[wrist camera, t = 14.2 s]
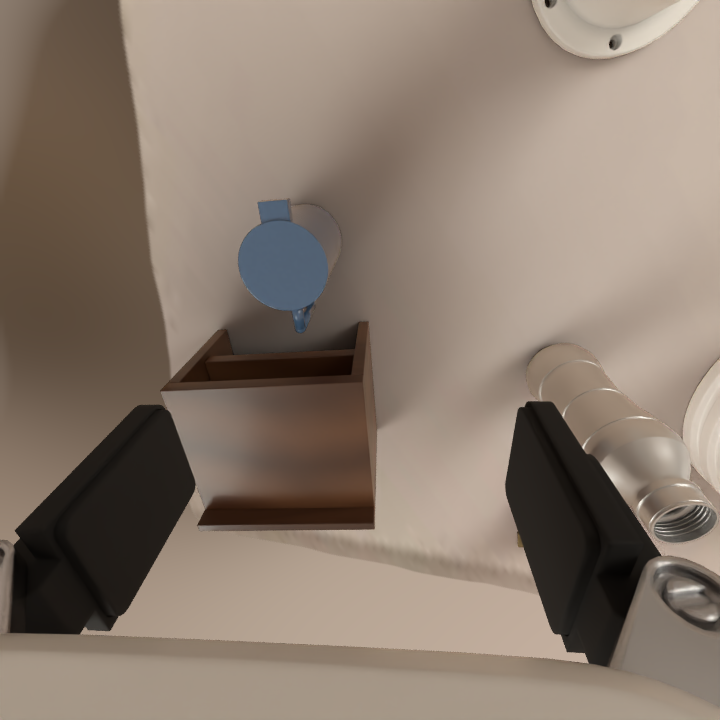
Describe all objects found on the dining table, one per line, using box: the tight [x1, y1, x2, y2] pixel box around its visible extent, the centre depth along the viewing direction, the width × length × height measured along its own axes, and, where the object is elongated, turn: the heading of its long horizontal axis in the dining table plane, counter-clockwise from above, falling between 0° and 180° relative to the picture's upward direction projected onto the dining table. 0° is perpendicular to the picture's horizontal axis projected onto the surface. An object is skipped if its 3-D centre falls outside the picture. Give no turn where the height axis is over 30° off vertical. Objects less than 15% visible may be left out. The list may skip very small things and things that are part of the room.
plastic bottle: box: [526, 343, 719, 544], centre depth 32 cm, size 6×7×20 cm
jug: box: [238, 198, 342, 333], centre depth 32 cm, size 10×6×10 cm, turn 5°
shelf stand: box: [160, 321, 377, 531], centre depth 37 cm, size 14×16×14 cm
